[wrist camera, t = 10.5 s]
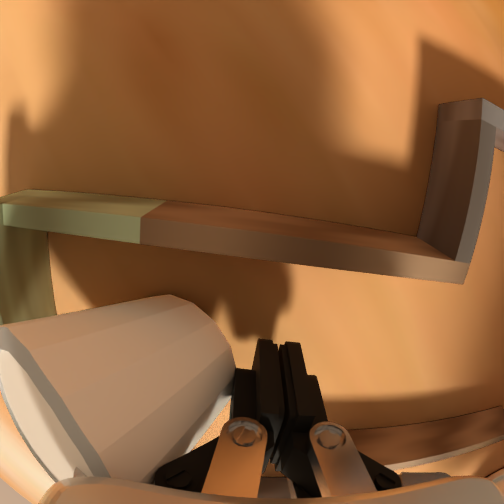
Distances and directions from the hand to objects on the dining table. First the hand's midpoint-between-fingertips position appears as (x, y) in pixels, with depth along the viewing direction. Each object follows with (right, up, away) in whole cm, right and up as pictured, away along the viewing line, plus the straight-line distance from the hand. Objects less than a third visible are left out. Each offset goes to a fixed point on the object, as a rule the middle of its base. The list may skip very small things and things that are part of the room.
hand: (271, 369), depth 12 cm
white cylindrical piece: (-4, 0, +1) cm, 4 cm away
